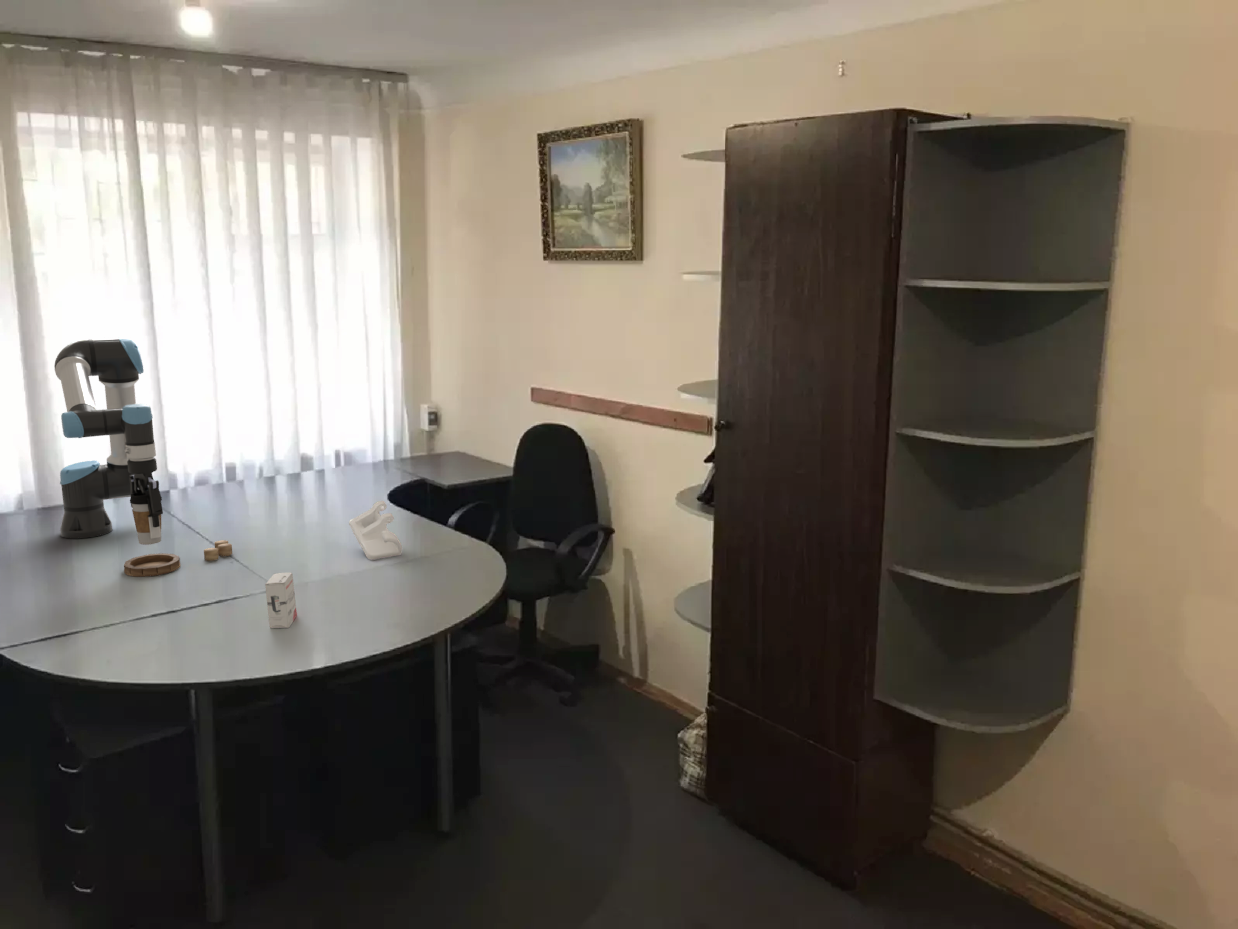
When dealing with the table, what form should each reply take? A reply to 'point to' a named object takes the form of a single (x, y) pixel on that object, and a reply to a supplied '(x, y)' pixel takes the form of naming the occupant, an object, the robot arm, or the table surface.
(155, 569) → the round tray
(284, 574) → the ink box
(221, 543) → the bead
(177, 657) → the table surface
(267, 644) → the table surface
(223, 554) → the bead
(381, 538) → the white angular bracket-shaped piece
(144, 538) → the coffee cup
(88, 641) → the table surface
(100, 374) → the robot arm
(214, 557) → the bead
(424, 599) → the table surface
